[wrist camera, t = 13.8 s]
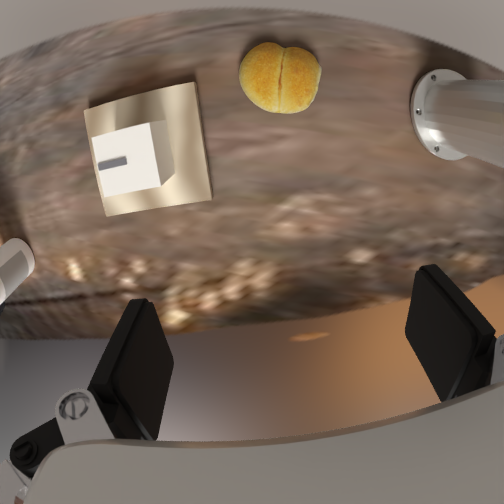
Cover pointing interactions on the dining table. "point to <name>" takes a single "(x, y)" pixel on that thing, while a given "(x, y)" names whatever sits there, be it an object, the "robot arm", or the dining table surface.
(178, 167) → the beige square plate
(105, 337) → the dining table surface
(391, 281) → the dining table surface
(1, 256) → the white plastic bottle
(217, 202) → the dining table surface
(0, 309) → the portable speaker
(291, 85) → the bread roll
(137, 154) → the white slotted cube
